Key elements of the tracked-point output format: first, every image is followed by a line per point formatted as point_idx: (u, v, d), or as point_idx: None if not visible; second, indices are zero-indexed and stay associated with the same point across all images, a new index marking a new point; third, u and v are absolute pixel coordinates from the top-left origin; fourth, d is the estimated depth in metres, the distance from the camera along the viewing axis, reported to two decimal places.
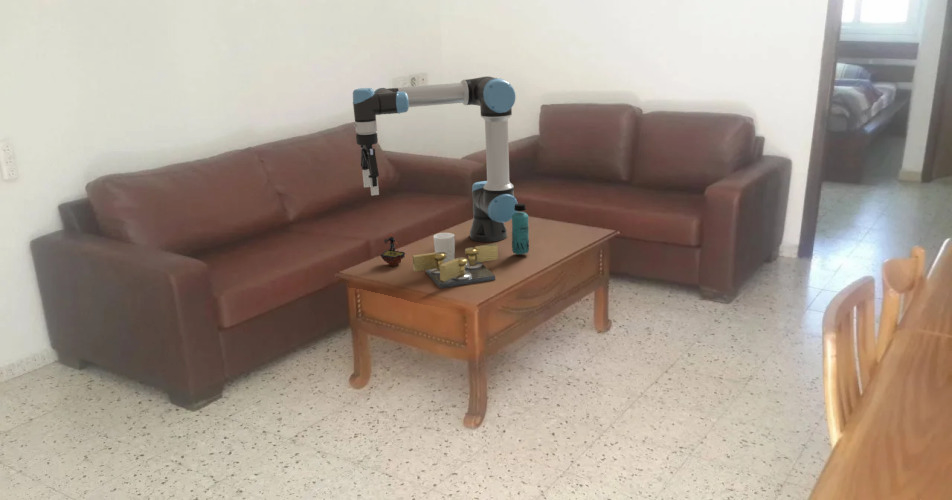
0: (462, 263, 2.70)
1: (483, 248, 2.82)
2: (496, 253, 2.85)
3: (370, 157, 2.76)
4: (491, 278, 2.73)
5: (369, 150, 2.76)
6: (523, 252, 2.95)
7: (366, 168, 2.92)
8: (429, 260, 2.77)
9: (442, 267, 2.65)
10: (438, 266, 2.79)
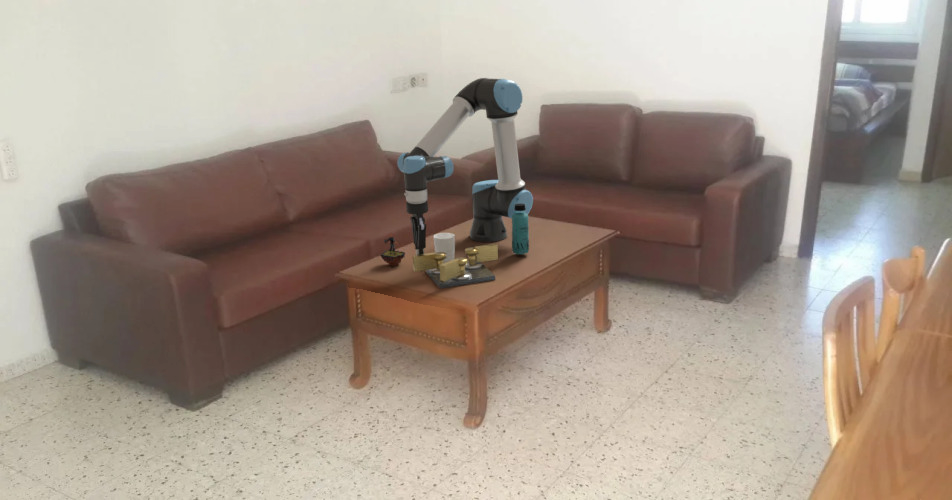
0: (462, 263, 2.70)
1: (483, 248, 2.82)
2: (496, 253, 2.85)
3: (420, 232, 2.72)
4: (491, 278, 2.73)
5: (420, 227, 2.70)
6: (523, 252, 2.95)
7: None
8: (429, 260, 2.77)
9: (442, 267, 2.65)
10: (438, 266, 2.79)
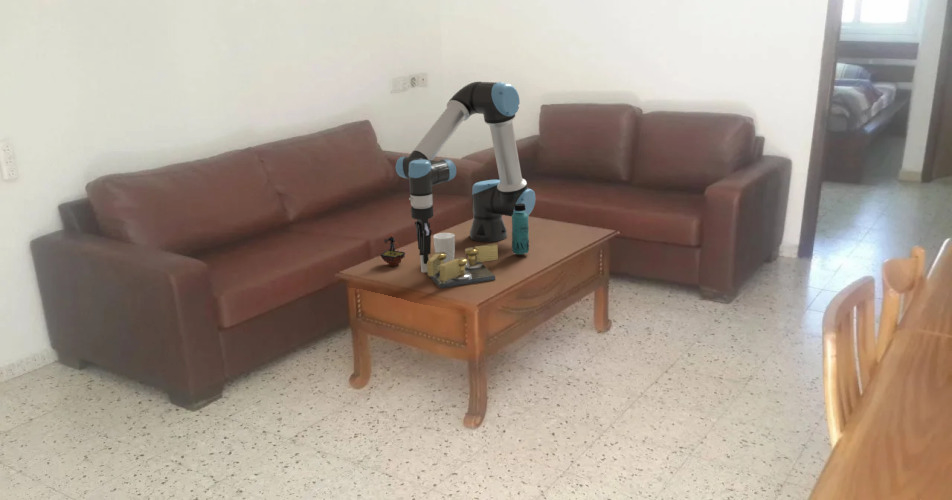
0: (462, 263, 2.70)
1: (483, 248, 2.82)
2: (496, 253, 2.85)
3: (425, 238, 2.65)
4: (491, 278, 2.73)
5: (425, 232, 2.64)
6: (523, 252, 2.95)
7: None
8: (438, 261, 2.75)
9: (442, 267, 2.65)
10: None
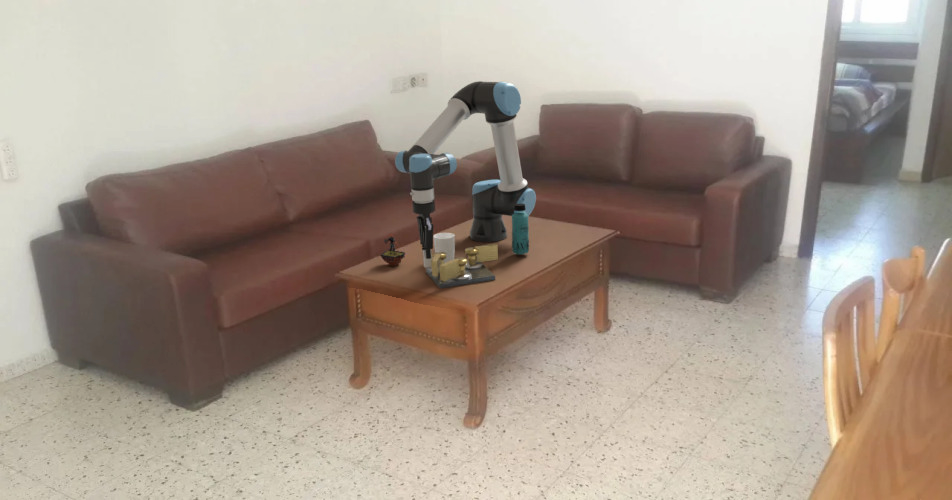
0: (462, 263, 2.70)
1: (483, 248, 2.82)
2: (496, 253, 2.85)
3: (427, 232, 2.64)
4: (491, 278, 2.73)
5: (428, 227, 2.62)
6: (523, 252, 2.95)
7: None
8: (440, 261, 2.75)
9: (442, 267, 2.65)
10: None
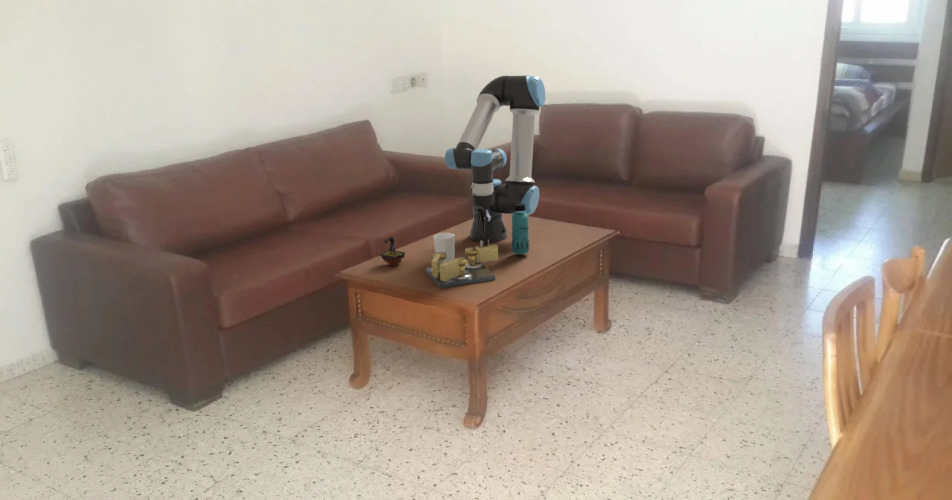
0: (462, 263, 2.70)
1: (483, 248, 2.82)
2: (497, 254, 2.84)
3: (486, 224, 2.79)
4: (491, 278, 2.73)
5: (487, 218, 2.77)
6: (523, 252, 2.95)
7: None
8: (440, 261, 2.75)
9: (442, 267, 2.65)
10: None
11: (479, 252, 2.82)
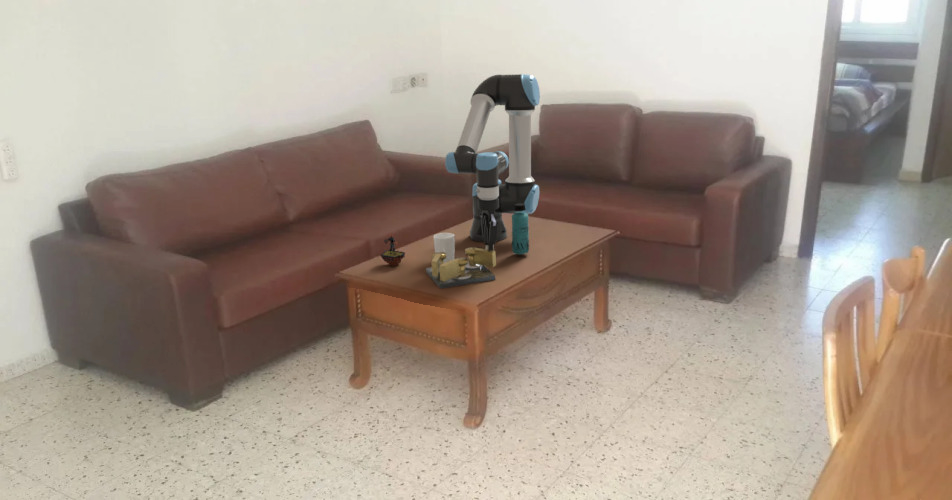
0: (462, 263, 2.70)
1: (479, 251, 2.79)
2: (491, 261, 2.77)
3: (492, 228, 2.73)
4: (491, 278, 2.73)
5: (492, 223, 2.72)
6: (523, 252, 2.95)
7: None
8: (440, 261, 2.75)
9: (442, 267, 2.65)
10: None
11: (476, 254, 2.80)
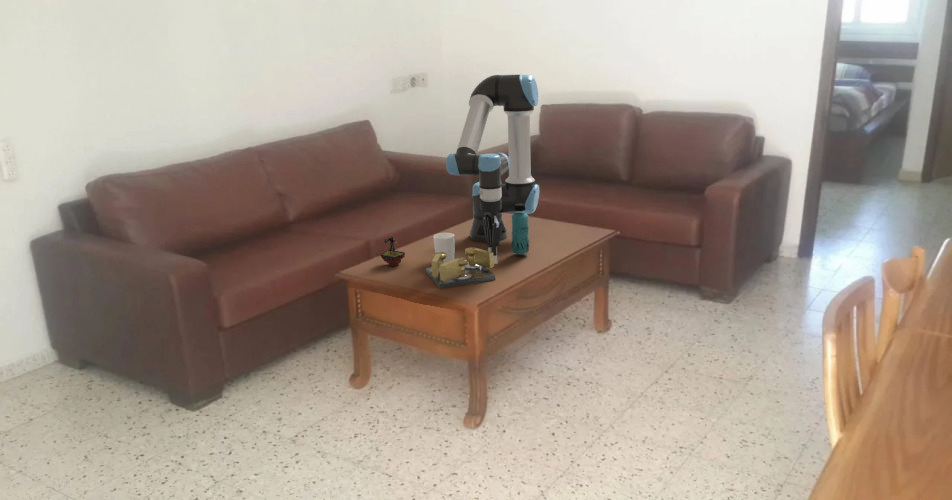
0: (462, 263, 2.70)
1: (478, 252, 2.79)
2: (488, 262, 2.76)
3: (495, 230, 2.71)
4: (491, 278, 2.73)
5: (495, 225, 2.70)
6: (523, 252, 2.95)
7: None
8: (440, 261, 2.75)
9: (442, 267, 2.65)
10: None
11: (475, 254, 2.80)
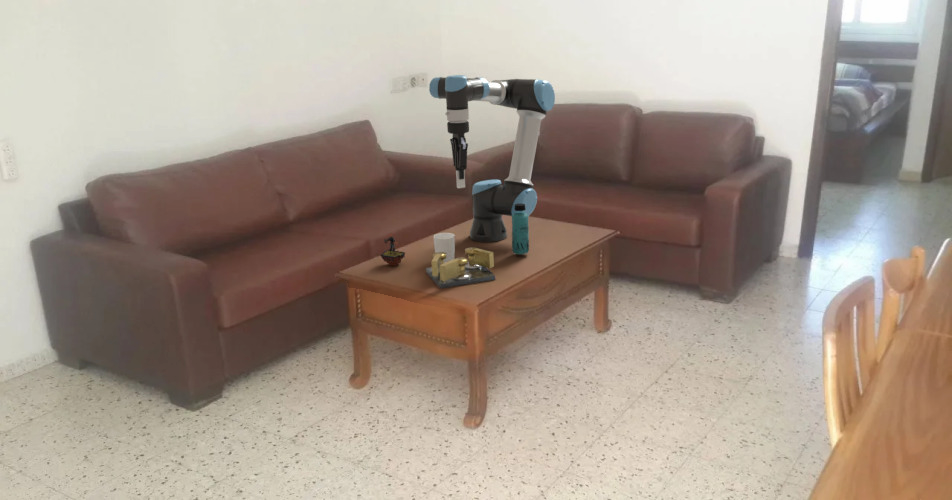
0: (462, 263, 2.70)
1: (478, 252, 2.79)
2: (488, 262, 2.76)
3: (462, 151, 2.71)
4: (491, 278, 2.73)
5: (462, 146, 2.70)
6: (523, 252, 2.95)
7: None
8: (440, 261, 2.75)
9: (442, 267, 2.65)
10: None
11: (475, 254, 2.80)
